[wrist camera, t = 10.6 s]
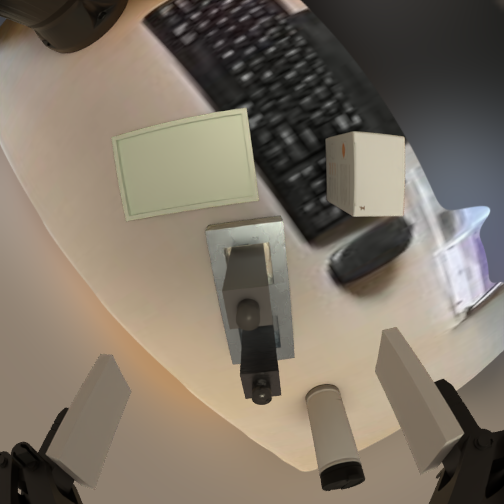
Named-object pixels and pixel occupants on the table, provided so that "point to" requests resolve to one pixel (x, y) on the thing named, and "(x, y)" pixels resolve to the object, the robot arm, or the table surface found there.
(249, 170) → the tray
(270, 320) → the plug
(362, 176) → the small box
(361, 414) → the table surface
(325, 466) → the travel mug
